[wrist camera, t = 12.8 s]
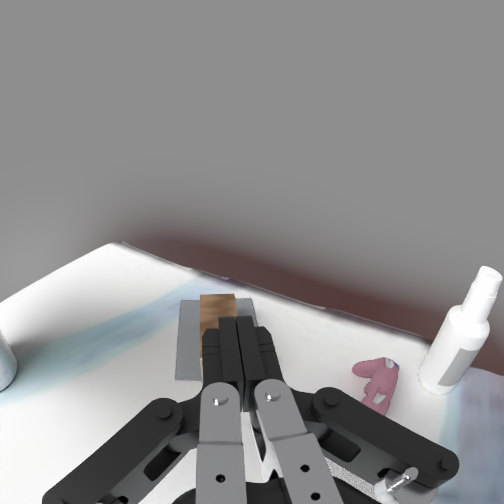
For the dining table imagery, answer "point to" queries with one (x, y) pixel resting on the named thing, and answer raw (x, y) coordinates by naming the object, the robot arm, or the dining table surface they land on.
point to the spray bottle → (460, 335)
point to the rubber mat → (197, 337)
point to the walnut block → (214, 313)
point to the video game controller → (378, 382)
